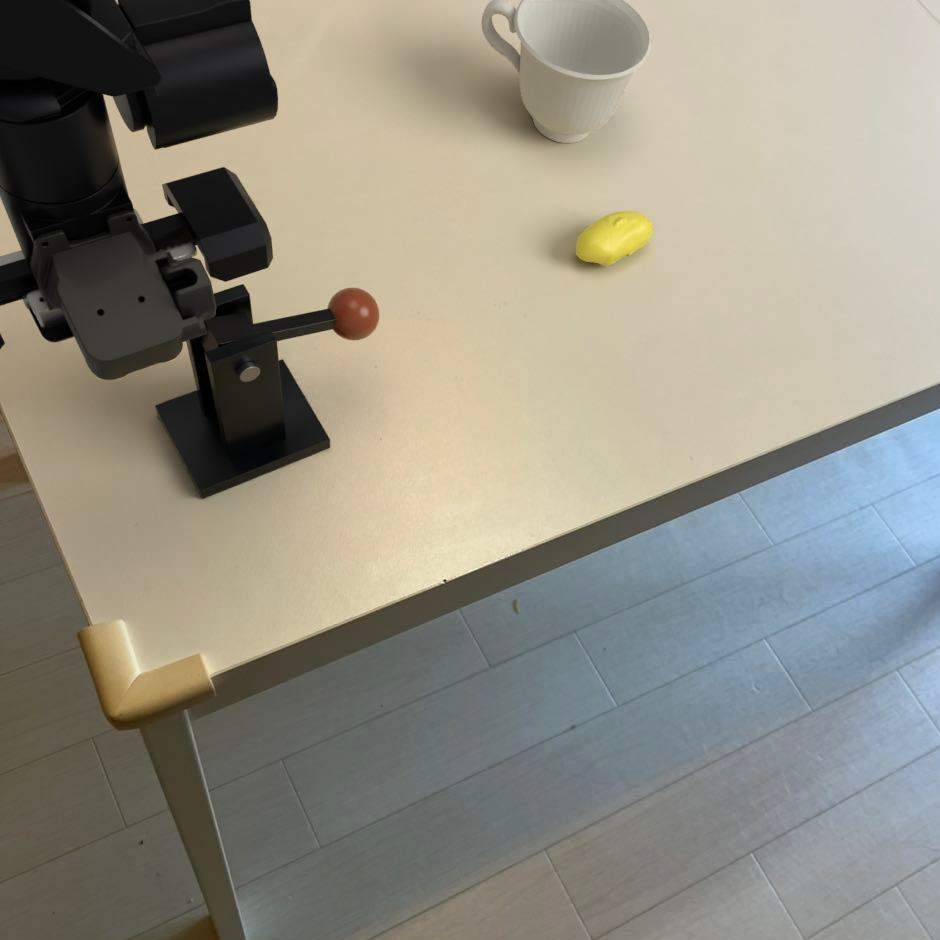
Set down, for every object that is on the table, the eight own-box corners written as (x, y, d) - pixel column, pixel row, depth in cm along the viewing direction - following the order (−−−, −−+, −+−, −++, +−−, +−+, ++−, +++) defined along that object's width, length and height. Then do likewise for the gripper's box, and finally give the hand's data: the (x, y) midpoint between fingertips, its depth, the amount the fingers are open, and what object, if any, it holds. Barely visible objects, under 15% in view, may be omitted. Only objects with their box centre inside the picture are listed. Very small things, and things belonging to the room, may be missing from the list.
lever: (359, 308, 74) (369, 272, 71) (382, 345, 73) (393, 310, 70) (196, 342, 67) (199, 304, 65) (218, 383, 66) (223, 346, 64)
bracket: (283, 367, 79) (273, 253, 68) (330, 448, 77) (328, 343, 65) (157, 414, 75) (124, 301, 64) (202, 499, 73) (176, 398, 62)
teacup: (491, 51, 99) (505, -46, 90) (636, 101, 99) (664, 9, 91) (452, 132, 93) (464, 36, 84) (607, 185, 94) (634, 95, 85)
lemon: (658, 256, 91) (670, 225, 87) (583, 283, 88) (592, 251, 84) (633, 223, 92) (644, 190, 89) (558, 248, 89) (567, 215, 86)
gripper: (-102, 352, 42) (7, 524, 56) (312, 222, 49) (319, 404, 63) (-183, 167, 46) (-61, 372, 59) (215, 69, 53) (242, 273, 66)
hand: (118, 357), depth 62 cm, fingers closed
